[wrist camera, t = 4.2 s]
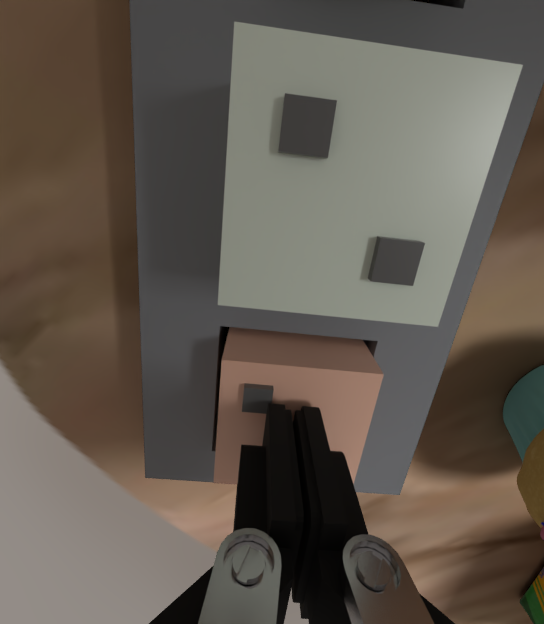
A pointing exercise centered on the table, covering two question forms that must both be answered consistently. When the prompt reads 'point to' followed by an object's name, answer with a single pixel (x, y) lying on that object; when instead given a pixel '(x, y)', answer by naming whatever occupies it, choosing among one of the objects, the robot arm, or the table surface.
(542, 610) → the chalk box
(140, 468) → the table surface
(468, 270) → the button board
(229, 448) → the pink dice cube
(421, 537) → the table surface
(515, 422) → the cupcake
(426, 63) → the two pip tile
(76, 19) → the table surface
